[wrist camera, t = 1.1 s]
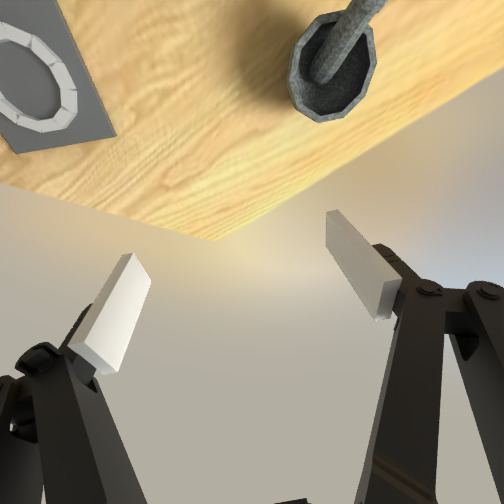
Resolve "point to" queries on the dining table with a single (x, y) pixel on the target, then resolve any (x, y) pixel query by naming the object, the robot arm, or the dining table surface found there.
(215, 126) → the dining table surface
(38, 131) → the holder
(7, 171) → the dining table surface
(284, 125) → the dining table surface
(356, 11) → the mortar and pestle
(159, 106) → the dining table surface
